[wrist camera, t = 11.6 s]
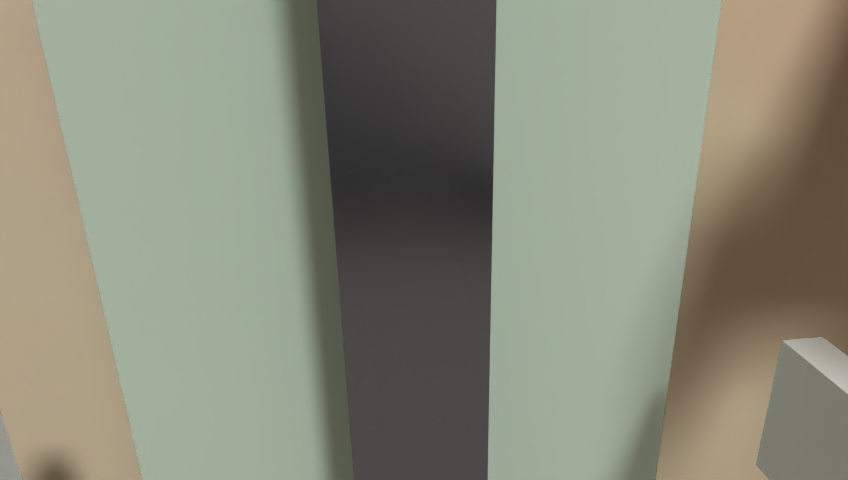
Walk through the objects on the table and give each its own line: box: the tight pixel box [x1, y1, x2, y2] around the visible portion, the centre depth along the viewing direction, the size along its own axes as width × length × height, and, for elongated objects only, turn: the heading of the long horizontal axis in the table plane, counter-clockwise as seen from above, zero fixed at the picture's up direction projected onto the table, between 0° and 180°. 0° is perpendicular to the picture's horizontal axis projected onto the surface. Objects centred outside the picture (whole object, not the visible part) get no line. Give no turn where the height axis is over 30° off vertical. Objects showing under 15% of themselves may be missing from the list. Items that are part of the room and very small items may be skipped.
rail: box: [317, 0, 497, 480], centre depth 13 cm, size 2×30×2 cm, turn 1°
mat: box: [32, 0, 722, 480], centre depth 14 cm, size 12×34×1 cm, turn 1°
